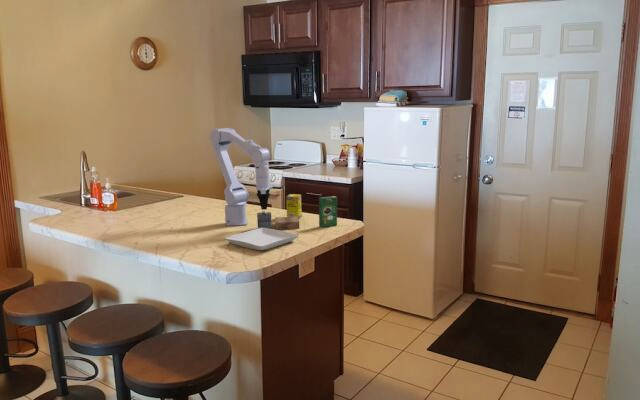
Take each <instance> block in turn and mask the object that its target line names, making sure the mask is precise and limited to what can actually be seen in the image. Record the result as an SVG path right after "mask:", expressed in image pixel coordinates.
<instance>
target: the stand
mask: <svg viewBox="0 0 640 400" xmlns="http://www.w3.org/2000/svg"><path fill="white" fill-rule="evenodd" d="M275 228H276V229H275V230H292V229H293V230H295V229H300V218H299V219H298V216H297V217H287V216H282V217H281V216H278V217H277V216H276V217H275Z"/></svg>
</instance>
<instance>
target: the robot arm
mask: <svg viewBox="0 0 640 400" xmlns="http://www.w3.org/2000/svg"><path fill="white" fill-rule="evenodd" d="M209 140H210V143H211V145H212V148H213V152H214V154H215V157H216V160H217V162H218V165H219V168H220V171H221V174H222V176H223V178H224V182H225V184H226V187H225V188H224V190H223V193H224V199H225V202H226V204H225V205H224V214H225V216H224V217H225V218H224V221H225V226H227V227H228V226H230V227H231V226H247V225H248V221H249V220H248V219H247V206H246V205H247V203H248V201H249V198H250V197H249V195H250V194H249V192H248V190H247V189H246V187H245V185H244V184H243V183H241V182H239V180H238V177H237V175H236V172H235V169H234V166H233V163H232V161H231V159H230V156H229V153H228V148H229V147H230V146H231V145H232V143H233V144H235V145H237V146H239V148H240V147H241V151H242V152H244V153H245V154H246V155H248V156H249V157H250V158H251V160H252V162H253V165H254V166H253V167H254V169H255V186H256V187H255V189H256V192H257V193H256V196H257V198H258V200H259V204H260V208H261V210H262V211H266V210H267V209H268V202H269V199H270V198H269V197H270V196H271V193H270V190H271V189H273V186H272V185H271V184H270V168H269V167H270V166H269V162H270V160H271V157H272V153H271V151H270V150H269V148H267V147H262V146H261V145H259V144H257V143H255V142H254V140H253V139H245V138H243V137H242V136H241V135H240V134H239V133H237V132H236V129H233V128H232V127H226V128H225V127H223V128H213V129H211V132H210V134H209Z"/></svg>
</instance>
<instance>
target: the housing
mask: <svg viewBox="0 0 640 400" xmlns="http://www.w3.org/2000/svg"><path fill="white" fill-rule="evenodd" d="M256 218H257V220H256V221H257V229H259V228H268V229H273V228H272V225H273V224H272V223H273V222H272V212H271V211H270V212H269V211H266V210H262V211H261V212H257V213H256Z"/></svg>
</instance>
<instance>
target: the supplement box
mask: <svg viewBox="0 0 640 400" xmlns="http://www.w3.org/2000/svg"><path fill="white" fill-rule="evenodd" d="M285 199H286V217H297V216H298V219H299V220H300V218H302V217H303V216H302V214H303V213H302V194H298V193H297V194H295V193H293V194H292V193H289V194H288V195H286V197H285Z"/></svg>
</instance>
